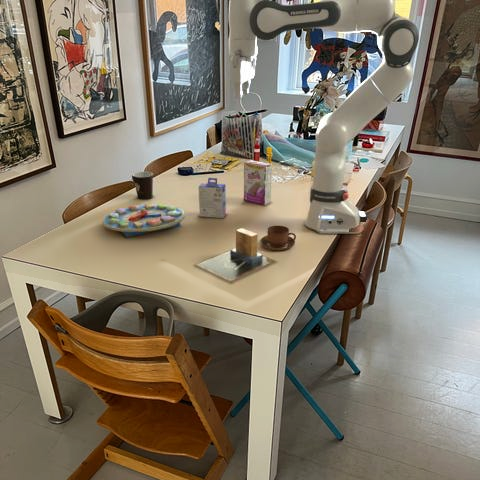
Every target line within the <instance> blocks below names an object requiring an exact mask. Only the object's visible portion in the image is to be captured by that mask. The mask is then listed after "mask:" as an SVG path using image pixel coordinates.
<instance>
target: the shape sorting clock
mask: <svg viewBox="0 0 480 480" xmlns="http://www.w3.org/2000/svg"><path fill="white" fill-rule="evenodd" d="M184 218H185V212H184V210H183V209H182V208H180V207H177V206H173V205H166V204H164V203H159V204H150V203H144V205H138V206H137V205H129V206H127V207H125V208H116V209H115V211H113V212H110V213H108V214H106V215H105V217H103V219H102V223H103V226H104V227H105V228H107V229H109V230H111V231H115V232H120V233H122V234H123V235H124V236H125V237H126V238H129V237H133V236H140V235H145V234H149V233H154V232H158V231H162V230H167V229H173V228H177V227H180V224H181V222H182V221H183V220H184Z"/></svg>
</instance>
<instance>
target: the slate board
mask: <svg viewBox="0 0 480 480" xmlns="http://www.w3.org/2000/svg"><path fill="white" fill-rule="evenodd" d="M273 262H275V260H273V259H271V258H269V257H266V256H264V255H263V260H262V261H260V262H257V263H255V264H253V265H251V264H249V263H246V262H244V261H242V260H240V259H237V258H235V257H233V256H230V250H228V251H226V252H223V253H221V254H218V255H216V256H213V257H211V258H209V259H206V260H204V261H201V262H199V263H196V264H195V266H197V267H200V268H202V269H204V270H206V271H208V272H210V273H212V274H214V275H216V276H218V277H220V278H222V279H224V280H227V281H229V282H232V281H235V280H237V279H239V278H241V277H243V276H245V275H248V274H249V273H252V272H254V271H256V270H259V269H260V268H262V267H264V266H267V265H269V264H271V263H273Z"/></svg>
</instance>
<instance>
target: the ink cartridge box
mask: <svg viewBox="0 0 480 480" xmlns="http://www.w3.org/2000/svg"><path fill="white" fill-rule="evenodd" d="M226 186H227V185H226V183H218V178H216V177H208V179H207V183H205V182H203V183H201V184H200V185H198V204H199V205H198V207H199V208H198V209H199V217H204V218H217V219H218V218H219V219H224V217H225V216H226V215H227V196H226V194H227V191H226V189H227V187H226Z"/></svg>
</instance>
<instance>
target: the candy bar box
mask: <svg viewBox="0 0 480 480" xmlns="http://www.w3.org/2000/svg"><path fill="white" fill-rule="evenodd" d="M272 169H273V164H272V163H266V162H262V161H257V160H254V159H253V160H252V159H249V160H246V161H244V162H243V201H245V202H250V203H254V204H258V205H261V206H267V205H268V204H270V203H271V202H272V201H271V199H272V177H273V176H272V174H273V170H272Z"/></svg>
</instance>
